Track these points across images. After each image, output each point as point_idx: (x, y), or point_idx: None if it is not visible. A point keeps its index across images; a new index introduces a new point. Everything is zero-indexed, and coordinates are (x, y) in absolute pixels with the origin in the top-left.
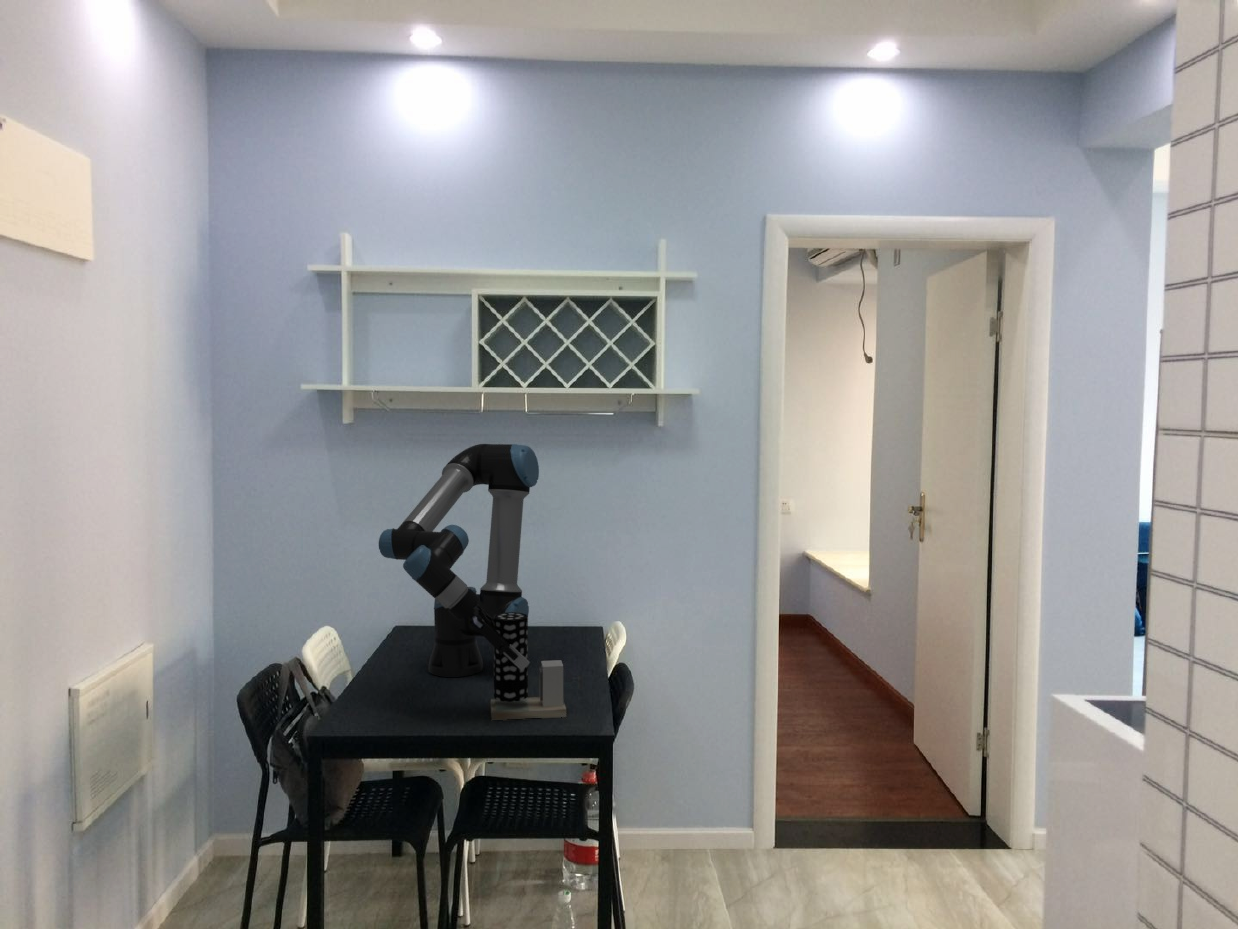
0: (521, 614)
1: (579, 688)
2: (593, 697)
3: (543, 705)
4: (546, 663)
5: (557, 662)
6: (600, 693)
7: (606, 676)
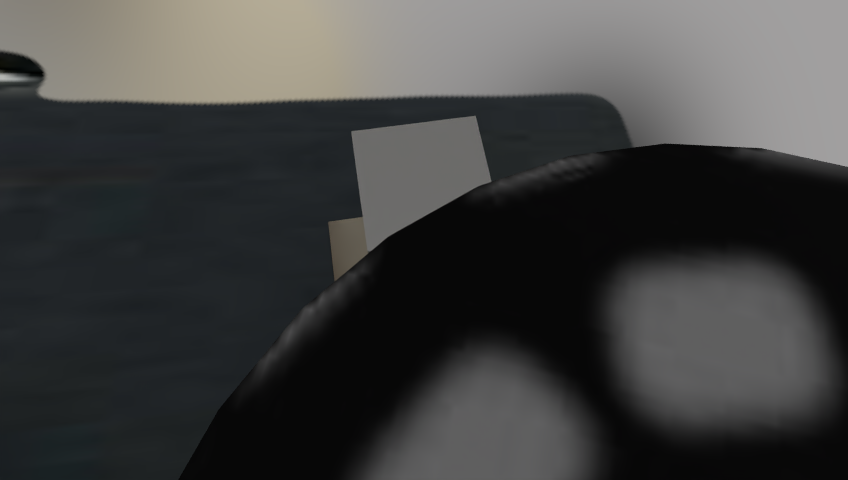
0: (466, 362)
1: (150, 177)
2: (267, 127)
3: None
4: (426, 213)
5: (402, 149)
6: (223, 105)
7: (17, 85)
